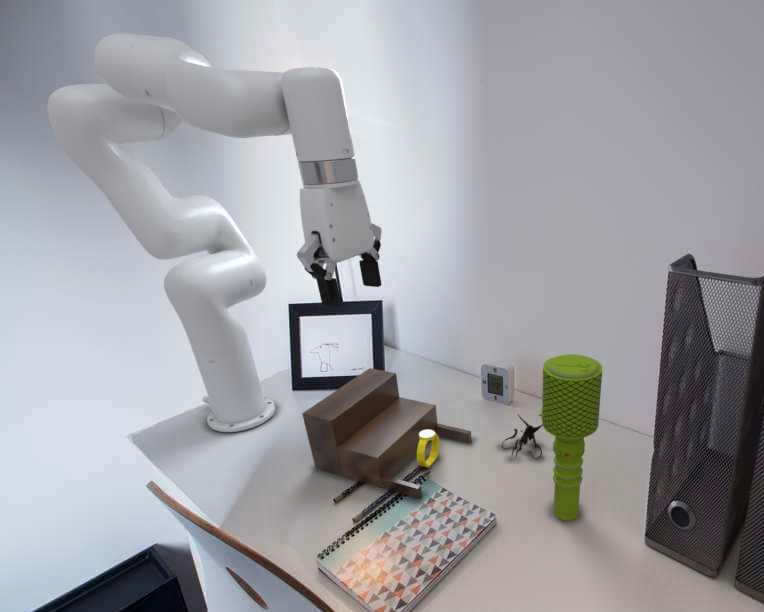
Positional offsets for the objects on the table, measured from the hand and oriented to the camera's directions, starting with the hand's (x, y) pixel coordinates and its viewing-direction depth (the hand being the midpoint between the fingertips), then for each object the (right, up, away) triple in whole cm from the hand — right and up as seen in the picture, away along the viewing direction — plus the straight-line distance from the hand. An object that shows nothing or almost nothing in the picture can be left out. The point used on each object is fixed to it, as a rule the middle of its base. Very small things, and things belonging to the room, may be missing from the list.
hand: (353, 295), depth 81 cm
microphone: (+32, -33, -1) cm, 46 cm away
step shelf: (+4, -26, +13) cm, 29 cm away
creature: (+27, -25, +14) cm, 39 cm away
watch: (+10, -27, +11) cm, 31 cm away
